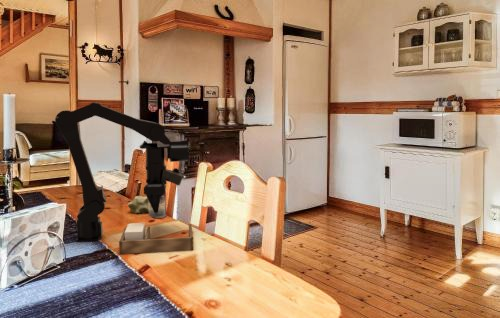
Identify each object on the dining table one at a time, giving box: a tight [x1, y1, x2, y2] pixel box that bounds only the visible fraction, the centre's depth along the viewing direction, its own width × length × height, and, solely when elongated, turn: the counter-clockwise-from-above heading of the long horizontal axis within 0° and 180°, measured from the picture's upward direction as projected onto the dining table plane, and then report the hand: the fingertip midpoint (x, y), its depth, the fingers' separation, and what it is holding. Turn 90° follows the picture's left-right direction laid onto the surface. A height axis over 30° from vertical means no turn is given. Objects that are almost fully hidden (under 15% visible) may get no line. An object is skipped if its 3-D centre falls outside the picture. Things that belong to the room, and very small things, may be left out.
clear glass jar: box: [148, 195, 165, 218], centre depth 130 cm, size 5×5×6 cm
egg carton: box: [125, 222, 146, 241], centre depth 118 cm, size 5×9×6 cm, turn 10°
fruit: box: [127, 195, 149, 215], centre depth 157 cm, size 9×9×8 cm
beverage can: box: [153, 183, 167, 219], centre depth 149 cm, size 5×5×15 cm
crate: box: [118, 223, 194, 255], centre depth 119 cm, size 20×14×4 cm
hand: (156, 210), depth 130 cm, fingers closed on clear glass jar, 5 cm apart
